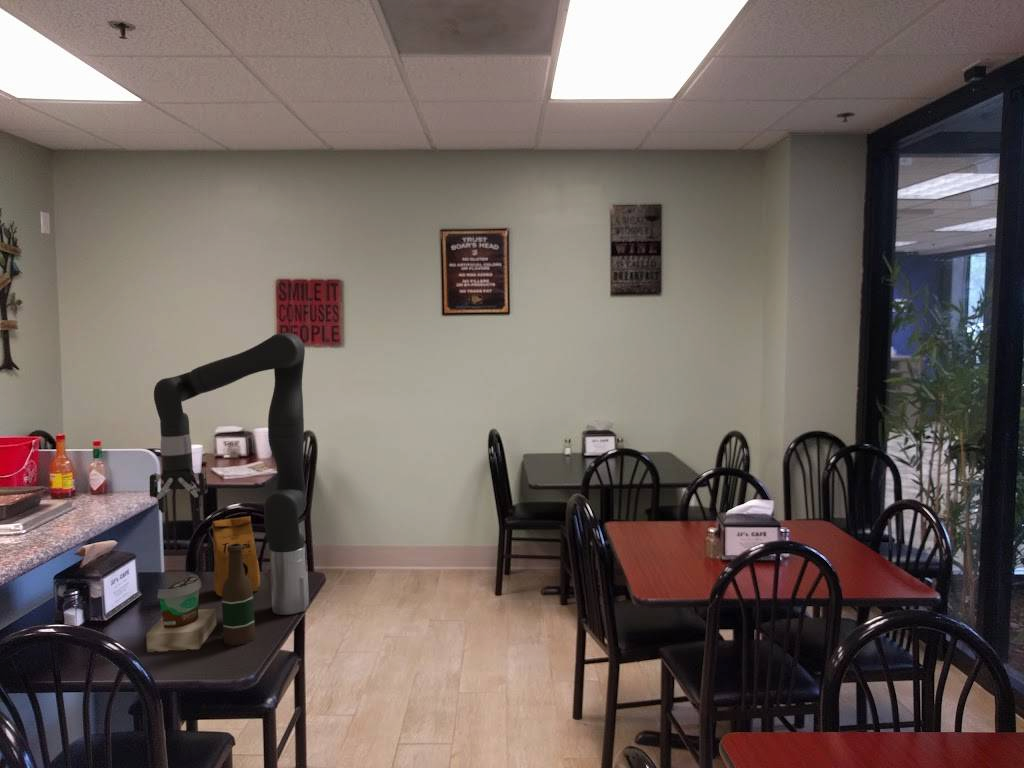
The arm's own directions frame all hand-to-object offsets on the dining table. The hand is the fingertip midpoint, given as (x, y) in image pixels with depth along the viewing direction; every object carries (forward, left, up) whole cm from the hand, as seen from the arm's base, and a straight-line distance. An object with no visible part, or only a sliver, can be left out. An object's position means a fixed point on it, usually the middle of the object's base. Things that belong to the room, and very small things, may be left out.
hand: (180, 511), depth 199 cm
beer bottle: (-19, +20, -28) cm, 40 cm away
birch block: (-5, +17, -29) cm, 34 cm away
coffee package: (-10, -14, -28) cm, 33 cm away
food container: (-6, +18, -24) cm, 30 cm away
